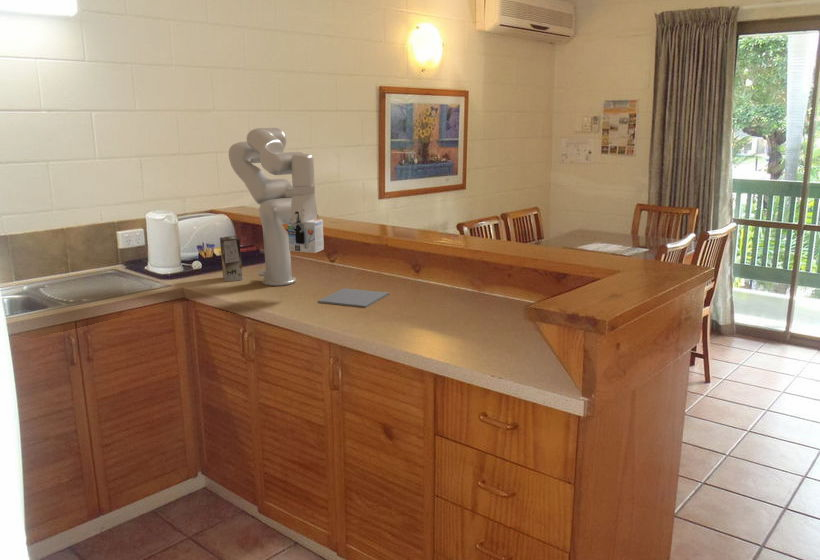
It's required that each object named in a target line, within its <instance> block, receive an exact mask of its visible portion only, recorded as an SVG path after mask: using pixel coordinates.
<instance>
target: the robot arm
mask: <svg viewBox="0 0 820 560" xmlns="http://www.w3.org/2000/svg"><path fill="white" fill-rule="evenodd" d="M286 145H287V135H286V134H285V132H284V131H283V130H282V129H281V128H278V127H260V128H259V127H258V128H257V127H256V128H254V129H251V130H250V131H249V132H248V133H247V134H246V140H245V141H238V142H236V143H233V144H232V145H231V146H230V147H229V150H228V159H229V163H230V166H231V167H232V169H233V171H234V173H235V174H236V175H237V176H238V178H239V179H240V180H241V181H242V182H243V183H244V185H245V186H246V188H247V191H248V192H249V193H250V196H251V197H252V198H253V200H254V201H255V202H256V203H257V204H258V205H259V207H258V214H259V218H260V222H261V227H262V234H263V235H262V236H263V246H264V247H263V248H264V249H263V250H264V260H265V261H264V263H265V269H260V270H259V272H258V276H260V277H263V278H262V284H263V285H265V286H271V287H273V286H274V287H276V286H279V287H280V286H287V285H292V284H294V283H296V282H297V278H296V276H293V274H292V262H291V261H292V260H291V251H289V238H288V230H286V228H285V226H283V225H288V221H290V220H291V225H292V226H293V229H294V232H295V237H296V243H298V244H304V232H303V228H304V224H306V222H308V221H311V220H313V219H319V215H318V209H317V201H316V188H315V168H314V167H315V166H314V165H315V164H314V163H315V162H314V156H313V155H312V154H310V153H303V152H300V151H293V152H292V151H291V152H289V151H288V152H284V149H285V148H286ZM255 164H261V167H262V168H263V170H265V171H266V172H267V173H269V174H271V175H274V176H282V175H283V176H284V175H291V180H292V181H290V180H288V179H287V178H275V179H274V178H273V179H271V178H268V177H267V175H266V174H265V172H264V171H263V170H262V169H261V168H260V167H258V166H256V165H255ZM298 222H301V223H298ZM298 225H300V226H301V227H299V226H298Z"/></svg>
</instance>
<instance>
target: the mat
mask: <svg viewBox="0 0 820 560" xmlns="http://www.w3.org/2000/svg"><path fill="white" fill-rule="evenodd" d="M387 296H389V292H387V291H386V292H385V291H377V290H374V291H373V290H365V289H364V290H363V289H362V290H361V289H354V288H353V289H352V288H341V289H339V290H338V291H336V292H334V293H331V294H328V295H327V296H326V297H322V298H321V299H318V300H317V302H318V303H320V304H321V303H322V304H328V305H330V304H331V305H339V306H346V307H347V306H348V307H356V308H365V309H366V308H367V307H369V306H371V305H373V304H375V303H376V302H378V301H379V300H381V299H383V298H384V297H387Z"/></svg>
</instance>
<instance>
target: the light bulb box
mask: <svg viewBox="0 0 820 560" xmlns="http://www.w3.org/2000/svg"><path fill="white" fill-rule="evenodd" d="M298 223H301V222H298ZM298 226H299V227H301V226H300V225H298ZM287 232H288V238H289V251H290V252H299V253H312V254H316V253H318V252H320V251H323V250H324V249H325V246H324V245H325V243H324V220H323V219H322V218H321V219H319V218H318V219H313V220H311V221H308V222H306V224H304V228H303V232H304V244H298V243H296V237H295V232H294V229H293V226H292V225H291V220H290V221H288V223H287Z"/></svg>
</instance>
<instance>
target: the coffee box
mask: <svg viewBox="0 0 820 560" xmlns="http://www.w3.org/2000/svg"><path fill="white" fill-rule="evenodd" d="M240 241H241V240H240V238H238V237H237V236H236V235H233V236H232V235H231V236H223V237H219V244H220V255H221V265H222V277H223V279H224V280H225V281H226V282H234V281H242V280H243V279H244V277H243V268H242V267H243V266H242V252H241V242H240Z"/></svg>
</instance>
